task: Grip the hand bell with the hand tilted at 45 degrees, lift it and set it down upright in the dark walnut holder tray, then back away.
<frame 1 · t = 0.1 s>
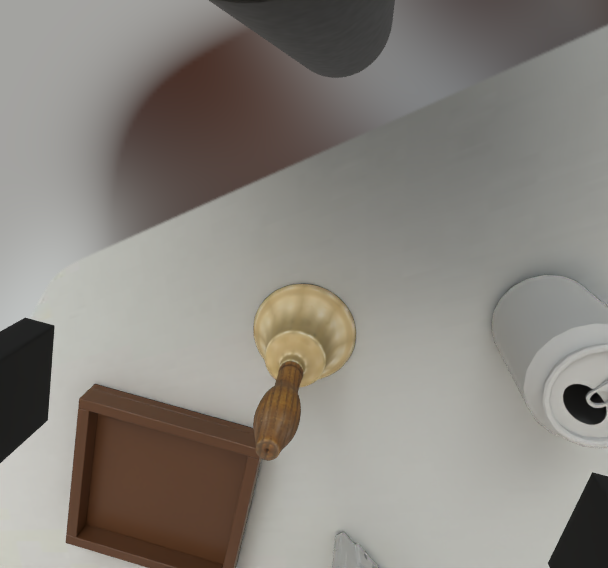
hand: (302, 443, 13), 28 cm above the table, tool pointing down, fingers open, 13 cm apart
hand bell: (304, 331, 42), on the table
can: (540, 318, 39), on the table
holder: (168, 480, 49), on the table
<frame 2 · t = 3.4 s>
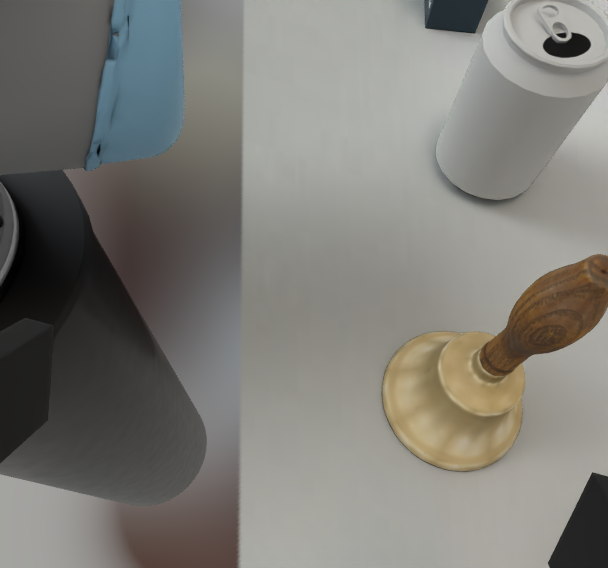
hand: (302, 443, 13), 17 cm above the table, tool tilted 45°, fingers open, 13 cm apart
hand bell: (450, 398, 31), on the table
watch: (447, 11, 47), on the table
can: (481, 166, 39), on the table
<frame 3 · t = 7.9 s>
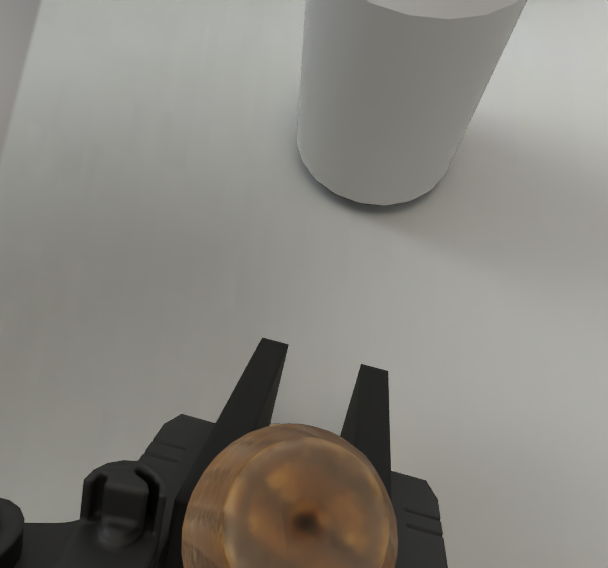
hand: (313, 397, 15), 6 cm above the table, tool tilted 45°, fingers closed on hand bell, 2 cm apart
hand bell: (271, 546, 18), on the table, touching gripper
can: (370, 155, 26), on the table
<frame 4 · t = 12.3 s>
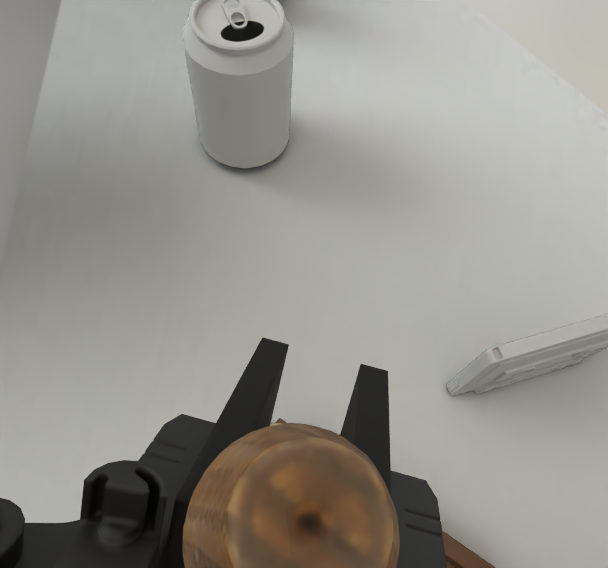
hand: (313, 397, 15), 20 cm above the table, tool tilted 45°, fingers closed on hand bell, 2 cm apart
hand bell: (270, 545, 18), point 14 cm above the table, touching gripper
cassette: (522, 368, 37), on the table
can: (245, 140, 45), on the table
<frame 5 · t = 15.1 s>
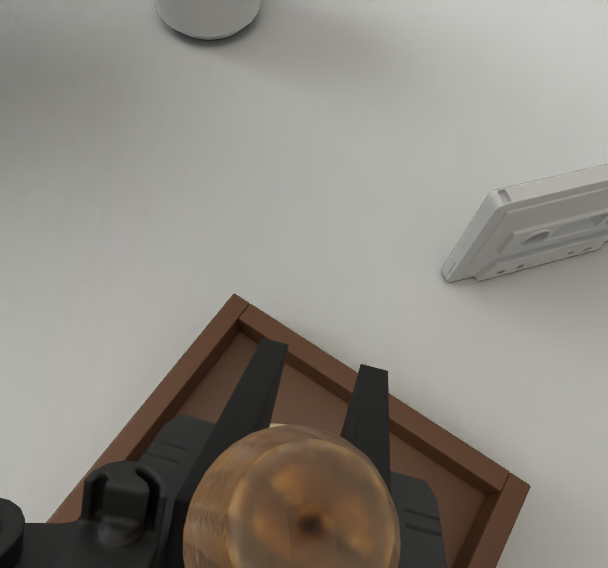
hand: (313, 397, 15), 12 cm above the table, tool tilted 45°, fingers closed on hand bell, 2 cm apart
hand bell: (270, 546, 18), point 6 cm above the table, touching gripper
cassette: (532, 255, 31), on the table
can: (209, 14, 39), on the table
holder: (273, 542, 23), on the table
when the fingers open (7 cm above the table, at t = 16.7 s): hand bell stays where it is, resting on holder.
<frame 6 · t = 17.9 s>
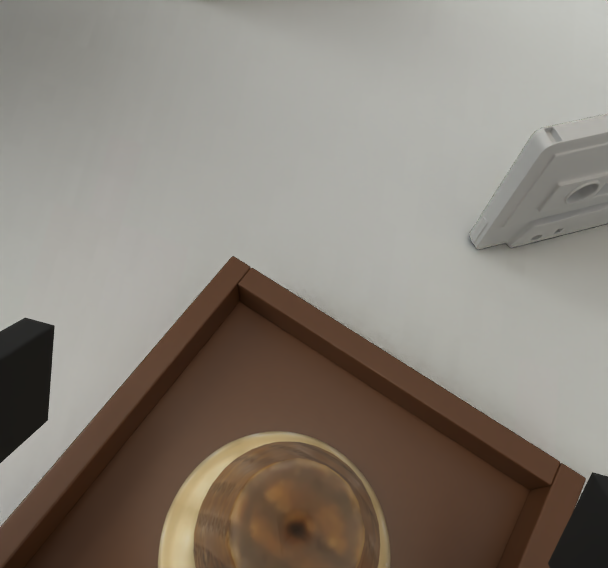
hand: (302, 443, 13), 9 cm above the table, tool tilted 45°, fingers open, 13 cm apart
hand bell: (275, 548, 19), point 1 cm above the table, touching holder
cassette: (570, 220, 27), on the table
holder: (278, 546, 20), on the table
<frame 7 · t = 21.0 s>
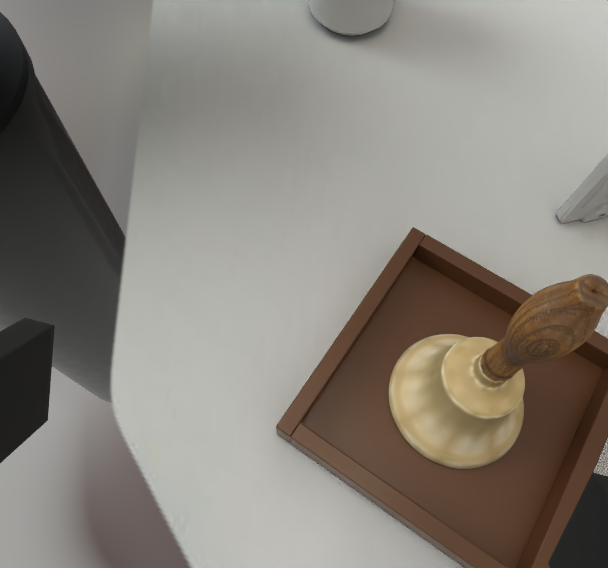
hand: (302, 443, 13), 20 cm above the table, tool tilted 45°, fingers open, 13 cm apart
hand bell: (453, 399, 33), point 1 cm above the table, touching holder
can: (349, 14, 48), on the table
holder: (452, 400, 33), on the table
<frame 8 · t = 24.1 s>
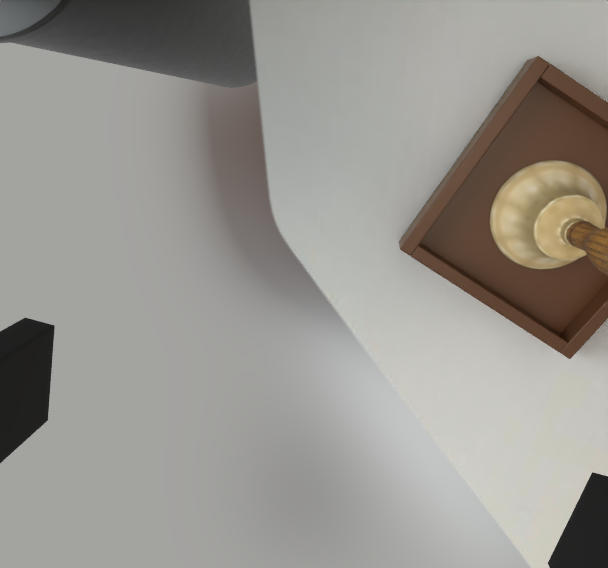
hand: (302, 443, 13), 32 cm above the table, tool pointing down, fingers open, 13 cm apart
hand bell: (545, 215, 40), point 1 cm above the table, touching holder
holder: (544, 213, 40), on the table
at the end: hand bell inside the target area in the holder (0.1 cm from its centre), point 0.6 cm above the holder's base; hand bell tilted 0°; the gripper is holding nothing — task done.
